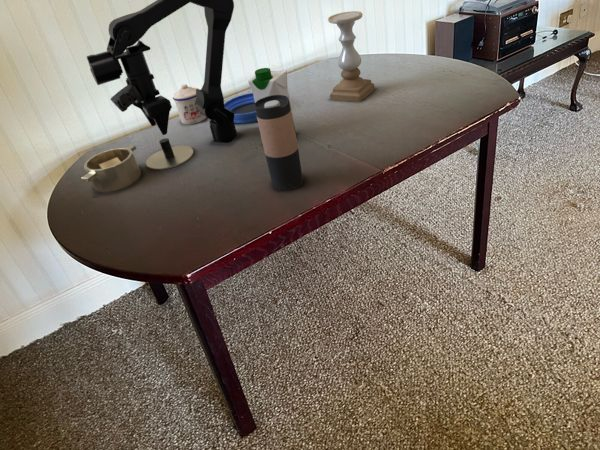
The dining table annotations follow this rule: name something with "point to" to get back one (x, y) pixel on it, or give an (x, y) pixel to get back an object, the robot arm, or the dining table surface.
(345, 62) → the candle holder
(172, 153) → the lid
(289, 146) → the travel mug
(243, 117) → the bowl
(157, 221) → the dining table surface
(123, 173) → the pot
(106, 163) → the cube
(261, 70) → the milk carton
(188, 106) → the teacup with lid
